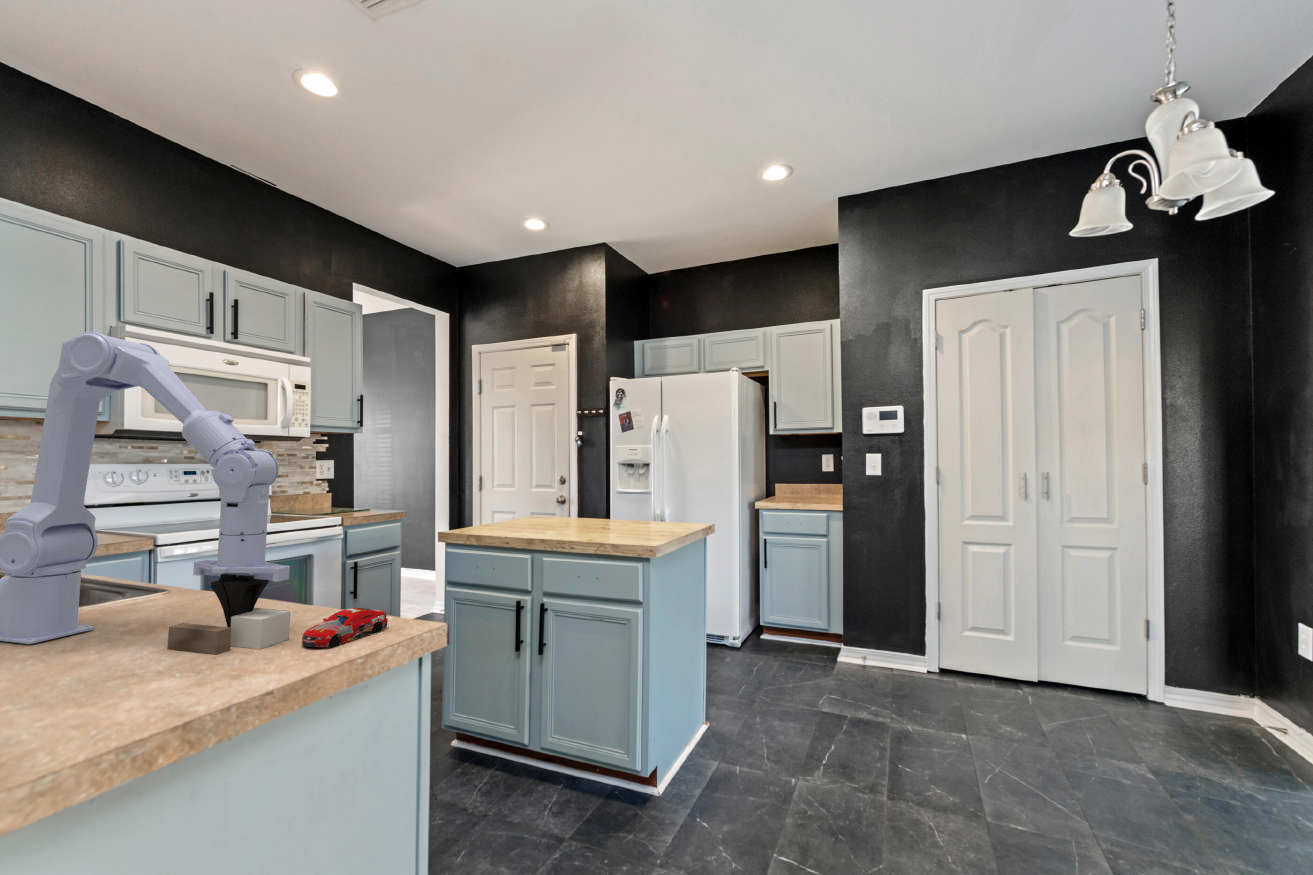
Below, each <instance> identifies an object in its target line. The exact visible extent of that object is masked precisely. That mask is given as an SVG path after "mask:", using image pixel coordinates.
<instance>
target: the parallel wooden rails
mask: <svg viewBox="0 0 1313 875" xmlns="http://www.w3.org/2000/svg"><path fill="white" fill-rule="evenodd" d="M258 609H264V608H263V607H262V608H261V607H254V609H253V611H255V610H258ZM270 609H271V610H275V609H273V608H270ZM281 610H282V611H287V609H286V610H285V609H284V610H283V609H281ZM167 632H168V634H167V648H166V649H167V650H174V651H180V652H181V651H184V652H190V653H198V654H208V655H218V654H219V655H220V654H222V653H225V652H228V651H230V650H231V646H230V638H231V628H229V627H227V626H217V625H207V624H198V623H197V624H196V623H187V622H186V623H185V622H182V623H178V624H174V625H170V626H168V631H167Z"/></svg>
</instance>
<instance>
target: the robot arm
mask: <svg viewBox="0 0 1313 875" xmlns="http://www.w3.org/2000/svg"><path fill="white" fill-rule="evenodd" d="M60 351H61V352H60V357H59V363H58V368H57V370H56V371H55V372H54V374H53V377H52V378H51V381H50V384H49V390H48V395H47V402H46V409H45V415H44V419H43V425H42V431H41V432H42V433H41V438H40V443H39V444H40V445H39V450H38V455H37V461H36V462H37V463H36V469H35V473H34V479H33V486H32V492H31V498H30V503H29V504H28V505H26V506H25V507H23V508H21V509H20V510H18V511H17V512H15V513H13V514H12V515H10V516H9V517H8V518H6V521H5V526H4V530H3V532H2V533H1V535H0V569H1V571H3V572H4V576H2V577H1V578H0V642H7V643H17V644H25V645H31V644H37V643H41V642H42V643H43V642H45V641H50V640H54V639H58V638H62V637H66V636H67V637H68V636H70V635H75V634H79V633H84V632H89V631H92V630H94V625H87V624H85V625H84V624H79V610H80V609H79V608H80V596H81V595H80V592H81V581H82V580H81V577H82V569H86V567H87V562H88V561H90V560H91V559H92V558H93V557H94V556H95V554H96V552H97V550H98V546H99V539H98V535H97V533H96V527H95V525H96V516H95V515H94V514H93V513H92V512H91V511H90V510H88V509H87V508H86V507H85V505H84V503H85V496H86V491H87V484H88V479H89V478H88V476H89V471H90V466H91V458H92V453H93V448H94V447H93V446H94V441H95V435H96V428H97V422H98V416H99V412H100V411H99V410H100V404H101V401H102V400H104V399H106V398H108V397H109V396H111V395H113V394H116V393H117V392H118V391H123V390H128V389H132V388H137V387H139V388H142V389H144V391H146V393H148V395H150V396H151V397H152V398H153V399H155V400H156V401H157V402H158V403H159V404H160V405H161V406H162V407H164V408H165V409H166V410H167V411H168V412H169V413H170V414H171V415H172V416H173V417H175V419H177V420H178V421H179V422H180V423H181V424H183V426H182V429H181V436H182V438H184V440H186V442H187V443H188V444H189V445H190V446H191V447H192V448H193V449H194V450H195V451H196V452H197V453H198V454H199V455H200V456H201V457H202V458H203V459H204V460H205V462H207V463H208V464H209V466H211V467H212V468H211V477H212V480H213V481H214V483H215V484H216V485H217V487H218V490H219V491H218V492H219V493H218V497H219V498H220V509H219V510H220V515H219V530H218V543H217V544H218V547H217V560H216V559H215V560H211V559H209V560H208V559H205V560H204V559H203V560H199V561H193V570H192V572H193V576H196V577H197V576H214V577H215V576H216V577H219V578H218V580H214V581H211V583H210V588H211V590H212V591H213V592H214V594H215V595H216V596H217V598H218V600H219V603H220V605H221V609H222V611H223V614H224V618H225V621H226V627H229V628H231V617H232V616H236V615H240V614H243V613H247V612H251V611H253V609H254V608H255V606H256V603H257V602H258V599H259V598H260V596H261V594H262V592H263V591H264V590H265V588H266V587H267V586H268V584H269V581H272V582H275V583H279V582H282V581H283V582H284V581H288V580H290V568H291V567H290V565H281V564H278V563H273V562H267V561H266V555H267V554H266V552H267V550H266V549H267V533H268V532H267V531H268V514H269V500H270V499H269V498H270V486H271V485H273V484H274V482H275V481H276V480H277V478H278V476H279V470H280V469H279V463H278V460H277V459H276V458H275V457H274V454H273V453H272V452H271V451H268V450H267V449H259V448H256V447H255V446H256V443H255V441H253V439H250V438H249V439H248V438H247V437H246V436H245V435H244V434H243V433H242V432H241V431H240V430H239V429H238V428H237V427H236V426H235V425H234V424H233V422H234V418H232V416H231V415H230V414H226V413H222V412H220V411H217V410H207V409H206V408H205V406H204V405H203V404H202V403H201V402H200V401H199V400H198V398H196V396H195V395H194V394H193V393H192V392H191V390H190V389H189V388H188V387H187V385H185V384H184V382H183V381H182V380H181V379H180V378H179V377H178V375H177V374H176V373H175V372H174V370H173V369H172V368H171V367H170V361H169V359H167V357H165V356H163V355H161V353H160V352H159V351H158V350H157V348H155V347H154V346H152V345H150V344H147V343H140V342H139V343H138V342H134V341H129V340H125V339H122V338H117V337H113V336H109V335H105V334H103V333H100V332H98V331H84V332H81V333H80V334H79V333H78V334H77V335H75V336H74V337H72V338H70V339H68V340H67V341H64V342H63V343H62V346H61V350H60Z"/></svg>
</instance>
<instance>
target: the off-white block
mask: <svg viewBox="0 0 1313 875" xmlns="http://www.w3.org/2000/svg"><path fill="white" fill-rule="evenodd" d="M271 609H272V608H263V609H258V610H255V611H251V612H247V613H243V614H240V615H236V616H232V617H231V638H230V647H234V648H235V647H237V648H246V649H255V650H256V649H257V650H262V649H265V648H267V647H270V646H274V645H276V644H279V643H282V642H285V641H287V640H289V639H290V629H291V628H290V627H291V613H292V612H291V611H290V610H286V611H282V610H283V609H274V610H271Z"/></svg>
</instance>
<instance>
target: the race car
mask: <svg viewBox="0 0 1313 875" xmlns="http://www.w3.org/2000/svg"><path fill="white" fill-rule="evenodd" d="M378 616H379V617H378ZM386 617H387V618H386ZM388 621H389V620H388V616H387V613H386V611H385V610H381V609H380V610H379V609H370V608H366V607H365V608H364V607H363V608H362V607H352V608H345V609H342V610H339V611H337V612H334V614H332V615H330V616H328V617H326V618H323V619H322V622H320V623H318V624H316V625H314V626H312V627H310V628H308V629H307V630H305V631H304V632H303V633H302V637H301V638H302V639H301V640H302V642H301V645H302V646H304V647H309V648H330V649H334V648H337V647H339V646H340V645H341V644H345V643H348V642H350V641H354V640H357V639H360V638H363V637H367V636H369V635H372V634H373V635H375V634H377V633H381V631H383V630H385V629H386V628H387V626H388Z"/></svg>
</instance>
